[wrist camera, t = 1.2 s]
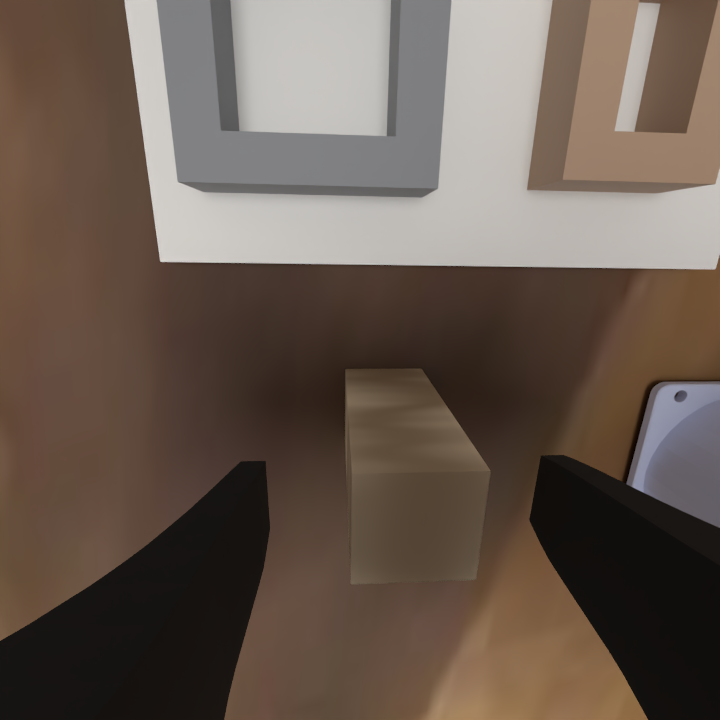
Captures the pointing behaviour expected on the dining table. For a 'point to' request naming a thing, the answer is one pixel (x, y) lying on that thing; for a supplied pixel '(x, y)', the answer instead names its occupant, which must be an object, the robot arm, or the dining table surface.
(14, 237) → the dining table surface
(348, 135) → the socket board
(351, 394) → the beech peg
